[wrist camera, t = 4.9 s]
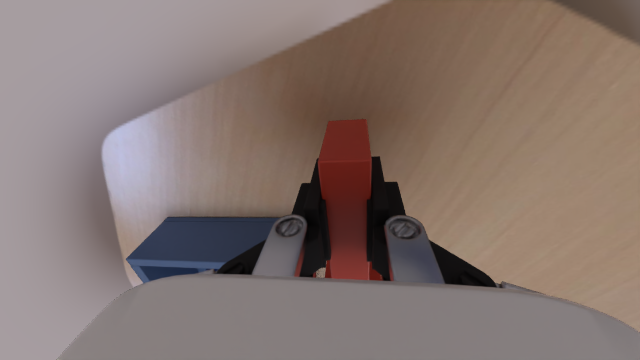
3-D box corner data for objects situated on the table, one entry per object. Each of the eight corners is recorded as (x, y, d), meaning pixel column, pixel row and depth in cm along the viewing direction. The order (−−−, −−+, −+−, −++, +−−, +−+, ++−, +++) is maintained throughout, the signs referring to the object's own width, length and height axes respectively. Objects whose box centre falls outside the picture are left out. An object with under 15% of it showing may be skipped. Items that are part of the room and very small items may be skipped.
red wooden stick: (309, 121, 11) (291, 162, 8) (387, 117, 11) (400, 158, 8) (332, 298, 20) (327, 354, 16) (376, 301, 19) (381, 360, 16)
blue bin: (167, 216, 23) (124, 259, 19) (304, 217, 21) (291, 265, 17) (227, 325, 33) (208, 368, 29) (323, 332, 31) (319, 380, 27)
